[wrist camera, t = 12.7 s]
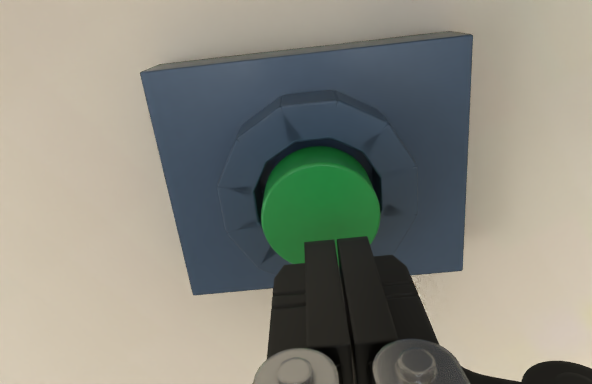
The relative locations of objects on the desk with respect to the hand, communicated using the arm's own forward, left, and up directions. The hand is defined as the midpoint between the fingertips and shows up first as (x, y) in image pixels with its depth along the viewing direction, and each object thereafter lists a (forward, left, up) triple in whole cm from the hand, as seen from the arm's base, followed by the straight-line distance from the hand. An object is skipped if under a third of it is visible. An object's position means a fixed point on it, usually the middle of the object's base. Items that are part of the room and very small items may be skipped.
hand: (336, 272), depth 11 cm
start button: (0, 0, -5) cm, 5 cm away
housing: (0, 0, -8) cm, 8 cm away
